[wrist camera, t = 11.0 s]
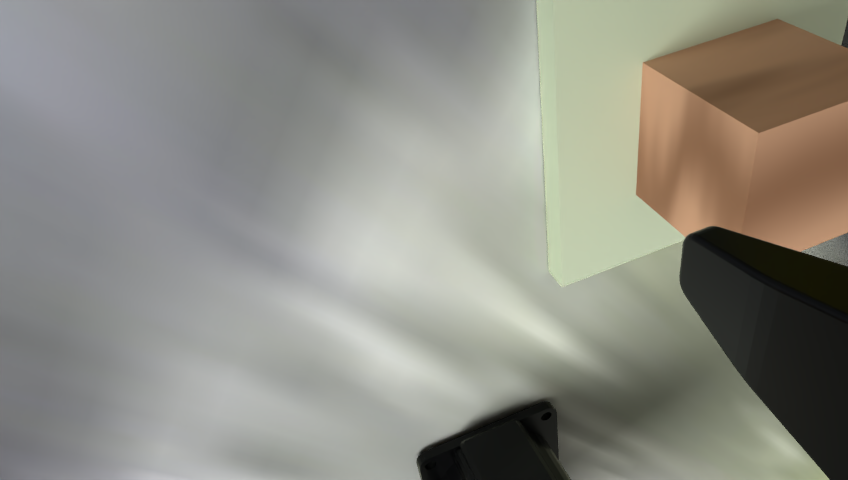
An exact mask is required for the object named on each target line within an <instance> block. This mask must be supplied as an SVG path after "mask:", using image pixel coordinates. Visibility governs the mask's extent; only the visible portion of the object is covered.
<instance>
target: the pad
mask: <svg viewBox="0 0 848 480" xmlns="http://www.w3.org/2000/svg"><path fill="white" fill-rule="evenodd" d="M536 6H537V27H538V49H539V70H540V92H541V114H542V135H543V157H544V178H545V200H546V222H547V243H548V265H549V272H550V274H551V275H552V276H553V277H554V278H555V280H556V281H557V282H558V283H559V284H560V286H561V287H564V286H567V285H569V284H572V283H575V282H577V281H580V280H582V279H585V278H588V277H590V276H593V275H595V274H598V273H601V272H603V271H606V270H608V269H611V268H613V267H616V266H619V265H621V264H624V263H626V262H629V261H632V260H634V259H637V258H639V257H642V256H645V255H647V254H650V253H652V252H655V251H657V250H660V249H663V248H665V247H668V246H670V245H673V244H676V243H678V242H681V241H683V240H684V239H685V238H686V237H685V236H684V235H682V234H681V233H680V232H679V231H678V230H677V229H675V228H674V227H673V226H672V225H671V224H670V223H668V222H667V221H666V220H665V219H664V218H663V217H661V216H660V215H659V214H658V213H657V212H656V211H654V210H653V209H652V208H651V207H650V206H649V205H647V204H646V203H645V202H644V201H643V200H642V199H640V198H639V197H638V196H637V195H636V184H637V164H638V145H639V125H640V106H641V86H642V66H643V62H646V61H649V60H652V59H655V58H658V57H661V56H665V55H668V54H671V53H674V52H677V51H680V50H683V49H686V48H689V47H692V46H695V45H698V44H701V43H704V42H708V41H711V40H714V39H717V38H720V37H723V36H726V35H729V34H732V33H735V32H738V31H741V30H744V29H747V28H751V27H754V26H757V25H760V24H763V23H766V22H769V21H772V20H775V19H780V20H782V21H784V22H787V23H789V24H791V25H794V26H796V27H799V28H801V29H803V30H806V31H808V32H810V33H813V34H815V35H817V36H820V37H822V38H824V39H827V40H829V41H831V42H834V43H836V44H839V45H842V40H843V36H844V32H845V28H846V23H847V19H848V0H536Z"/></svg>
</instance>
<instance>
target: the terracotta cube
mask: <svg viewBox="0 0 848 480" xmlns="http://www.w3.org/2000/svg"><path fill="white" fill-rule="evenodd" d="M636 195H637V196H638V197H639V198H640V199H642V200H643V201H644V202H645V203H646V204H647V205H649V206H650V207H651V208H652V209H653V210H654V211H656V212H657V213H658V214H659V215H660V216H661V217H663V218H664V219H665V220H666V221H667V222H668V223H670V224H671V225H672V226H673V227H674V228H675V229H677V230H678V231H679V232H680V233H681V234H682V235H684V236H685V237H686V236H687V235H689V234H690V233H693V232H695V231H698V230H701V229H703V228H706V227H709V226H717V227H721V228H725V229H728V230H731V231H734V232H737V233H741V234H744V235H747V236H750V237H754V238H757V239H760V240H763V241H767V242H770V243H773V244H776V245H780V246H783V247H786V248H789V249H792V250H796V251H799V252H801V251H803V250H806V249H808V248H810V247H813V246H815V245H818V244H820V243H823V242H825V241H828V240H830V239H833V238H835V237H838V236H840V235H843V234H845V233H847V232H848V48H846V47H843V46H841V45H839V44H836V43H834V42H831V41H829V40H827V39H824V38H822V37H820V36H817V35H815V34H813V33H810V32H808V31H806V30H803V29H801V28H799V27H796V26H794V25H791V24H789V23H787V22H784V21H782V20H780V19H775V20H772V21H769V22H766V23H763V24H760V25H757V26H754V27H751V28H747V29H744V30H741V31H738V32H735V33H732V34H729V35H726V36H723V37H720V38H717V39H714V40H711V41H708V42H704V43H701V44H698V45H695V46H692V47H689V48H686V49H683V50H680V51H677V52H674V53H671V54H668V55H665V56H661V57H658V58H655V59H652V60H649V61H646V62H643V66H642V86H641V106H640V125H639V145H638V164H637V184H636Z"/></svg>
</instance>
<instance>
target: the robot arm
mask: <svg viewBox="0 0 848 480" xmlns="http://www.w3.org/2000/svg"><path fill="white" fill-rule="evenodd" d="M680 285H681V288H682V290H683V293H684V294H685V296H686V298H687V299H688V300H689V302H690V303H691V305H692V306H693V308H694V309H695V311H696V312H697V313H698V315H699V316H700V318H701V319H702V321H703V322H704V323H705V325H706V326H707V328H708V329H709V331H710V332H711V334H712V335H713V336H714V338H715V339H716V341H717V342H718V344H719V345H720V347H721V348H722V349H723V351H724V352H725V354H726V355H727V357H728V358H729V359H730V361H731V362H732V364H733V365H734V367H735V368H736V369H737V371H738V372H739V373H740V375H741V376H742V377H743V379H744V380H745V381H746V382H747V384H748V385H749V386H750V387H751V388H752V390H753V391H754V392H755V393H756V394H757V396H758V397H759V398H760V399H761V400H762V401H763V403H764V404H765V405H766V406H767V407H768V408H769V410H770V411H771V412H772V413H773V414H774V415H775V416H776V418H777V419H778V420H779V421H780V422H781V423H782V425H783V426H784V427H785V428H786V429H787V430H788V432H789V433H790V434H791V435H792V436H793V437H794V438H795V440H796V441H797V442H798V443H799V444H800V445H801V447H802V448H803V449H804V450H805V451H806V452H807V454H808V455H809V456H810V457H811V458H812V459H813V460H814V462H815V463H816V464H817V465H818V466H819V467H820V469H821V470H822V471H823V472H824V473H825V474H826V475H827V477H828V478H829V479H830V480H848V267H847V266H844V265H841V264H838V263H834V262H831V261H828V260H825V259H822V258H818V257H815V256H812V255H809V254H805V253H802V252H799V251H796V250H792V249H789V248H786V247H783V246H780V245H776V244H773V243H770V242H767V241H763V240H760V239H757V238H754V237H750V236H747V235H744V234H741V233H737V232H734V231H731V230H728V229H725V228H721V227H717V226H709V227H706V228H703V229H701V230H698V231H695V232H693V233H690V234H689V235H687V236H686V238H685V239H684V242H683V248H682V258H681V267H680ZM417 466H418V470H419V474H420V478H421V480H571V479H570V477H569V476H568V474H567V473H566V471H565V470H564V468H563V466H562V465H561V463H560V462H559V457H558V435H557V413H556V410H555V408H554V407H553V405H552V404H551V403H550V402H542V403H540V404H537V405H535V406H532V407H530V408H528V409H525V410H523V411H521V412H518V413H516V414H513V415H511V416H509V417H506V418H504V419H501V420H499V421H497V422H494V423H492V424H490V425H487V426H485V427H482V428H480V429H478V430H475V431H473V432H470V433H468V434H466V435H463V436H461V437H459V438H456V439H454V440H451V441H449V442H447V443H444V444H442V445H439V446H437V447H435V448H432V449H430V450H428V451H425V452H423V453H422V454H421V455H420V456H418V458H417Z"/></svg>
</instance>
